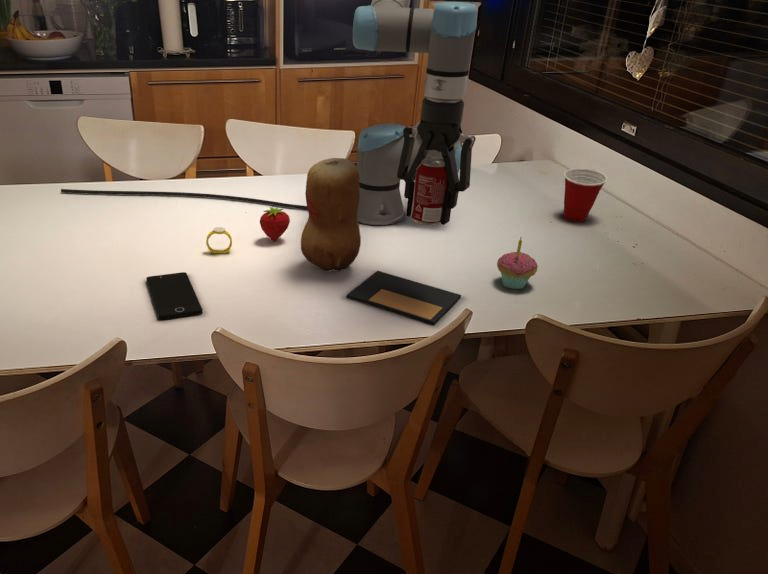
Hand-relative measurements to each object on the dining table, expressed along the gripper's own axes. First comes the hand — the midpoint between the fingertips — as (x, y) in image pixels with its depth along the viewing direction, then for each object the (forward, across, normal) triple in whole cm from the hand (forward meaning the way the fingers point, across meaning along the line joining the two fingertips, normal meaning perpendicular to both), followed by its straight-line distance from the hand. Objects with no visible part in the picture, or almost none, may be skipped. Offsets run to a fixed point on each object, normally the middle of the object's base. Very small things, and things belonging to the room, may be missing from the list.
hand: (427, 218), depth 137 cm
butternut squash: (+18, -22, 0) cm, 28 cm away
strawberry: (+17, -41, +6) cm, 45 cm away
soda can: (+1, 0, 0) cm, 1 cm away
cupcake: (+18, +15, +17) cm, 29 cm away
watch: (+18, -48, -7) cm, 52 cm away
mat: (+17, -2, -3) cm, 18 cm away
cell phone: (+18, -42, -30) cm, 55 cm away
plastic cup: (+17, +17, +65) cm, 69 cm away
